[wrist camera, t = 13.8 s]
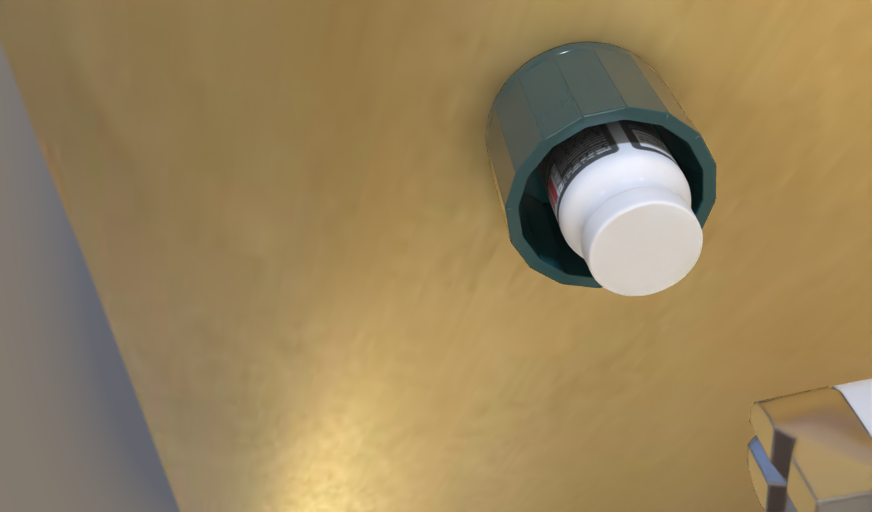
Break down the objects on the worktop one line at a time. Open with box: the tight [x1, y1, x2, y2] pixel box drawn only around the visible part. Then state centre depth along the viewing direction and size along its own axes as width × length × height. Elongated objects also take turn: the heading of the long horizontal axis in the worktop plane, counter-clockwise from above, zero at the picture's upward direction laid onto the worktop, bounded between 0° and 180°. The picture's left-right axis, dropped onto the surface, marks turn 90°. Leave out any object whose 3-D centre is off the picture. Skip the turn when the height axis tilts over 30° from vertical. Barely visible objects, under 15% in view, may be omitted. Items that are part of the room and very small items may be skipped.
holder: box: [486, 42, 716, 288], centre depth 39 cm, size 9×9×7 cm
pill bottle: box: [537, 120, 703, 296], centre depth 37 cm, size 6×6×10 cm
